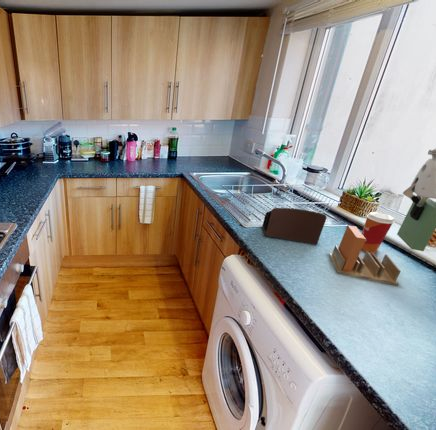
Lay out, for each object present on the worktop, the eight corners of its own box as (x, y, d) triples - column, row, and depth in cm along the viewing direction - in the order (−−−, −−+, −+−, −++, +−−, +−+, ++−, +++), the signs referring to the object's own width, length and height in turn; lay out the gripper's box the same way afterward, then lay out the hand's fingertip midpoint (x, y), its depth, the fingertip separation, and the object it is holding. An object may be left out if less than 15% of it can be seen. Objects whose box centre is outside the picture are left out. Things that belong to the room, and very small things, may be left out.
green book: (407, 236, 89) (427, 197, 84) (423, 251, 81) (446, 209, 75) (396, 234, 90) (415, 195, 85) (411, 249, 82) (433, 207, 76)
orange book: (343, 257, 108) (356, 226, 102) (351, 271, 99) (366, 239, 94) (335, 255, 109) (347, 225, 103) (342, 269, 100) (356, 237, 95)
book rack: (381, 265, 105) (387, 253, 103) (397, 285, 94) (404, 273, 92) (328, 254, 111) (333, 243, 109) (337, 273, 100) (342, 261, 98)
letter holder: (317, 244, 118) (328, 213, 112) (264, 236, 123) (272, 206, 118) (310, 234, 126) (321, 204, 120) (261, 226, 132) (269, 198, 126)
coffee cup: (356, 242, 121) (370, 209, 114) (381, 250, 115) (398, 216, 109) (351, 248, 116) (365, 214, 109) (376, 257, 110) (393, 222, 104)
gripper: (421, 155, 74) (391, 219, 82) (508, 163, 68) (467, 230, 76) (408, 150, 81) (381, 209, 88) (487, 156, 75) (451, 219, 82)
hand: (421, 218), depth 82 cm, fingers closed on green book, 2 cm apart
